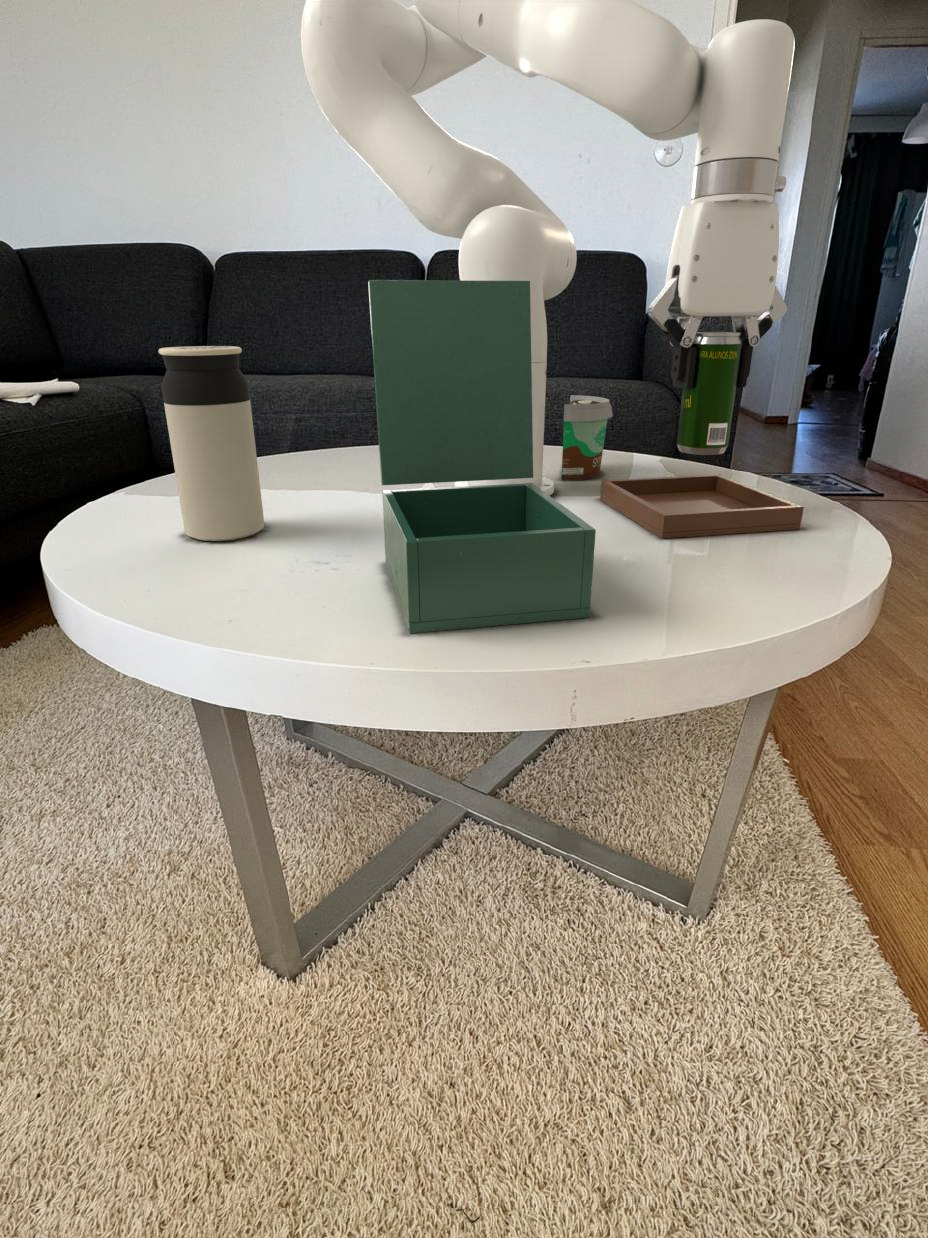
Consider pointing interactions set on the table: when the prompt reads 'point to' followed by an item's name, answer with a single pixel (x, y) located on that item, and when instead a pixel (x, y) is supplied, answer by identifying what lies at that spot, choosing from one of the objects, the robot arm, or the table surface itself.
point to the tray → (699, 506)
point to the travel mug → (212, 442)
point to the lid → (452, 380)
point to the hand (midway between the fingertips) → (708, 385)
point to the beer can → (710, 394)
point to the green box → (486, 556)
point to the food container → (584, 436)
